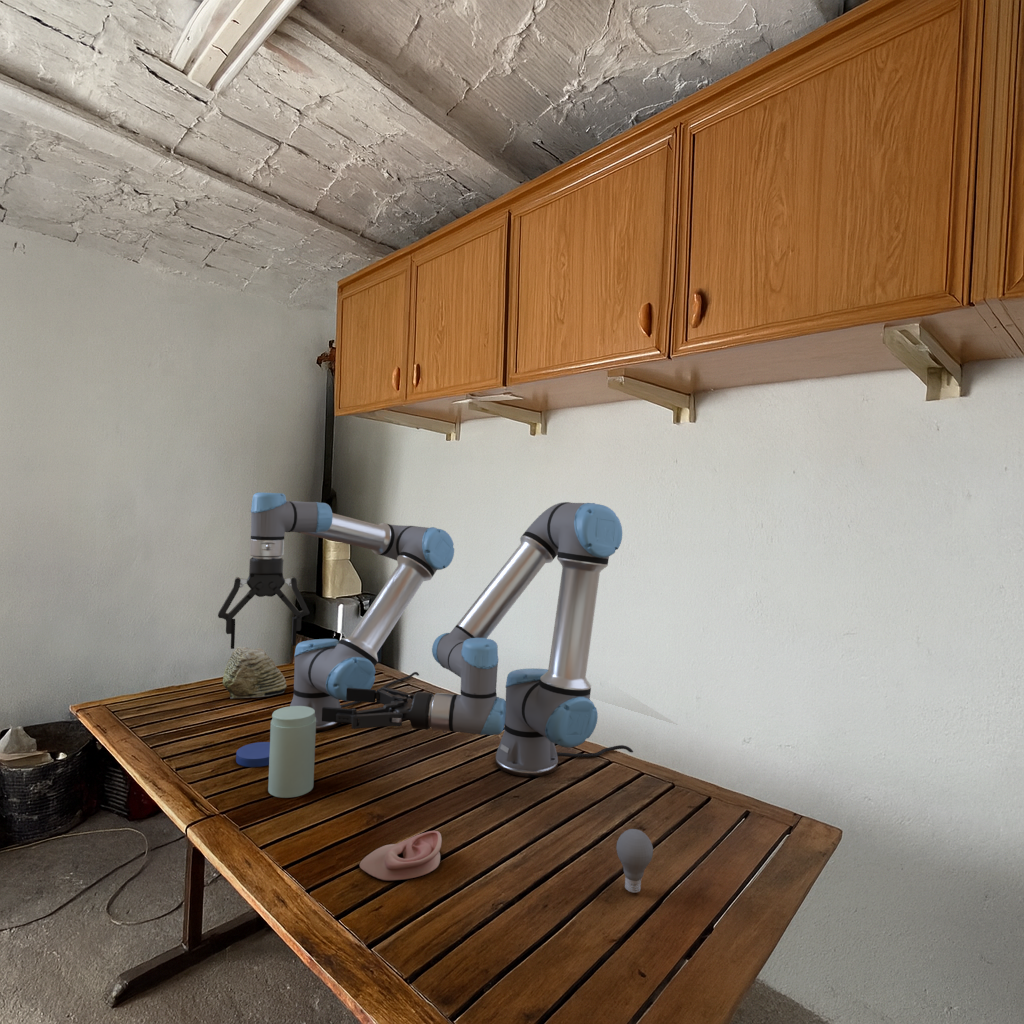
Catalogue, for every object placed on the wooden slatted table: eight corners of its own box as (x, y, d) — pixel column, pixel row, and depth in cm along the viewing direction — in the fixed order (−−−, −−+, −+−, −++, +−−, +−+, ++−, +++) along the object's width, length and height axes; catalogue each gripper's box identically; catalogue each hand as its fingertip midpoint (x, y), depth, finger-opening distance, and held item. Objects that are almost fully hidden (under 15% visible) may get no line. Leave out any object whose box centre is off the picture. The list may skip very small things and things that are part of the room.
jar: (274, 778, 141) (277, 705, 141) (317, 778, 142) (320, 705, 142) (262, 797, 132) (265, 719, 132) (308, 797, 133) (311, 719, 133)
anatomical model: (352, 851, 106) (379, 818, 118) (351, 875, 106) (379, 839, 118) (427, 864, 104) (448, 829, 115) (426, 888, 104) (447, 850, 115)
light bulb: (610, 879, 108) (613, 822, 108) (644, 879, 109) (647, 822, 109) (619, 902, 102) (622, 840, 102) (655, 901, 103) (658, 840, 103)
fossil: (218, 695, 195) (220, 647, 195) (278, 685, 208) (279, 640, 207) (228, 703, 189) (230, 653, 188) (289, 692, 201) (290, 645, 201)
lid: (259, 770, 145) (259, 762, 145) (226, 761, 149) (226, 753, 149) (291, 754, 154) (292, 747, 154) (259, 746, 158) (260, 738, 158)
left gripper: (208, 558, 142) (205, 652, 143) (323, 558, 152) (319, 646, 153) (209, 555, 149) (206, 645, 149) (318, 555, 159) (315, 639, 160)
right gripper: (416, 752, 121) (310, 742, 124) (444, 709, 146) (355, 702, 148) (418, 713, 121) (311, 704, 124) (445, 677, 146) (356, 670, 148)
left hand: (263, 646), depth 151 cm, fingers open, 13 cm apart
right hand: (335, 703), depth 136 cm, fingers open, 13 cm apart
